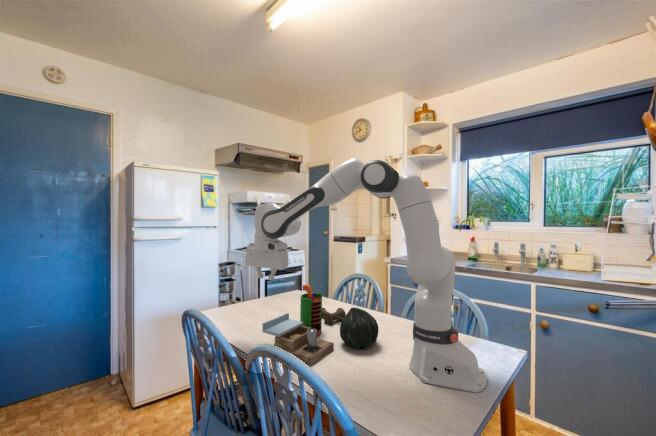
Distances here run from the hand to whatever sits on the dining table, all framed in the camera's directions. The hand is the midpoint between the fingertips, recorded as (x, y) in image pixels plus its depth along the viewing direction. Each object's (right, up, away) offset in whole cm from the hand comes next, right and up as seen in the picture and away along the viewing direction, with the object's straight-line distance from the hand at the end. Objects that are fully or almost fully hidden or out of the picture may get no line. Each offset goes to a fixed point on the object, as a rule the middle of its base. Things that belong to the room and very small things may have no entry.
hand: (266, 278), depth 118 cm
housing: (+16, -24, -10) cm, 31 cm away
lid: (+8, -18, -5) cm, 20 cm away
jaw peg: (+19, -24, -13) cm, 33 cm away
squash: (+36, -25, -4) cm, 44 cm away
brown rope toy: (+25, -25, +23) cm, 42 cm away
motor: (+17, -24, +7) cm, 31 cm away
